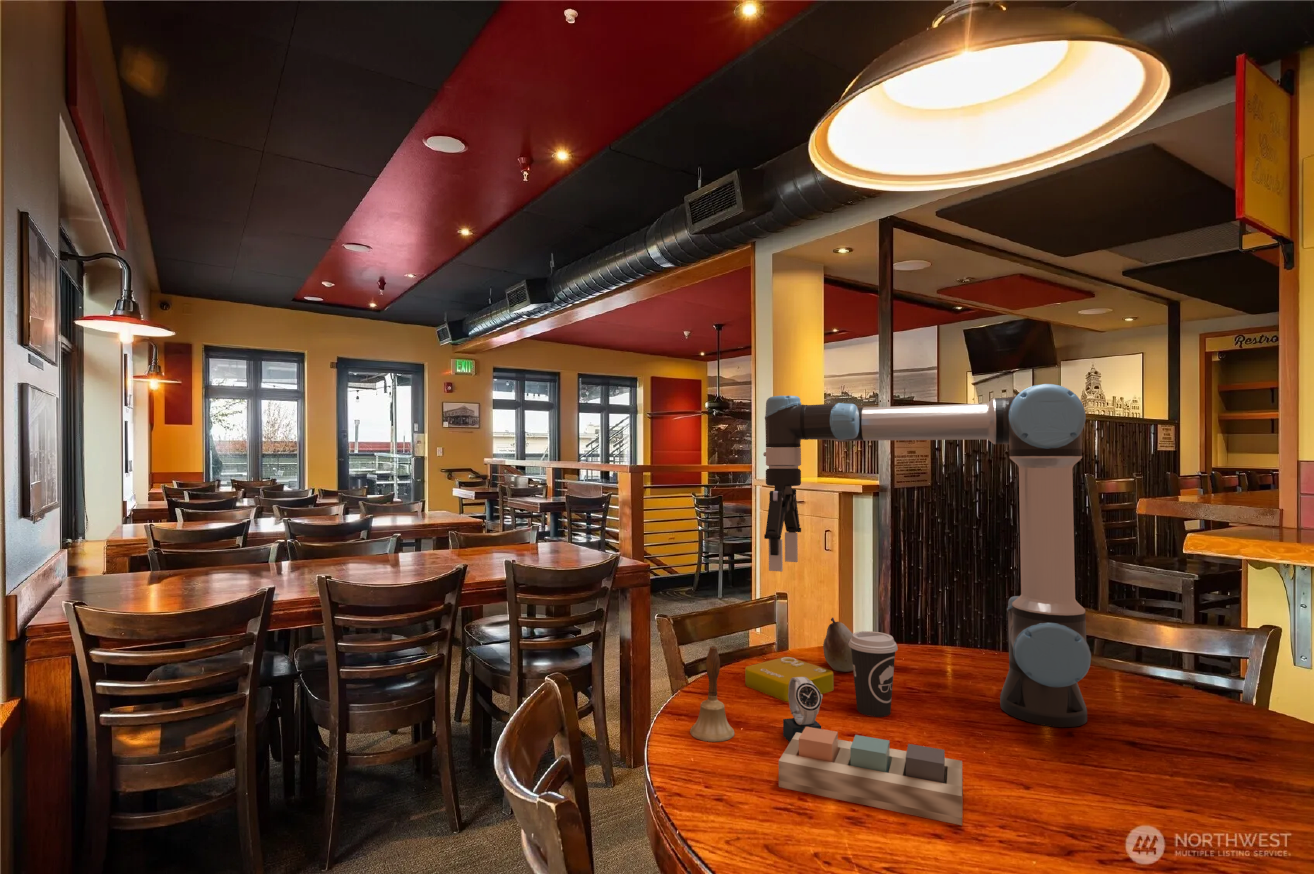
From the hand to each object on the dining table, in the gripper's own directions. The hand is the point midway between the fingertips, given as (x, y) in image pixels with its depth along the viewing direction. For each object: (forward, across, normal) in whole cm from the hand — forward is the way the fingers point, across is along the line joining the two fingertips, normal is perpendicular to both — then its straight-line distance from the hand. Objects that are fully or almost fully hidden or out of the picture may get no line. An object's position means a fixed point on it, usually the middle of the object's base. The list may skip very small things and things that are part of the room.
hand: (783, 566), depth 143 cm
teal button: (+25, +33, +22) cm, 47 cm away
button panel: (+28, +33, +22) cm, 48 cm away
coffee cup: (+28, 0, +18) cm, 34 cm away
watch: (+28, +20, +8) cm, 35 cm away
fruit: (+28, -25, +8) cm, 39 cm away
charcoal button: (+25, +33, +30) cm, 51 cm away
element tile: (+29, -7, -1) cm, 30 cm away
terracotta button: (+25, +33, +14) cm, 44 cm away
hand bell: (+28, +24, -8) cm, 38 cm away
